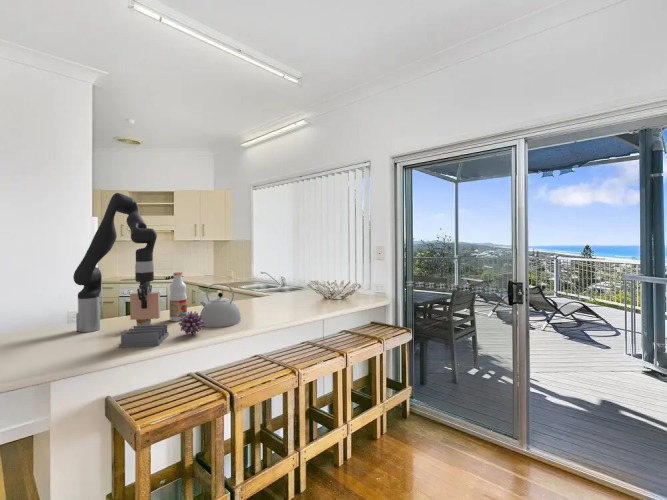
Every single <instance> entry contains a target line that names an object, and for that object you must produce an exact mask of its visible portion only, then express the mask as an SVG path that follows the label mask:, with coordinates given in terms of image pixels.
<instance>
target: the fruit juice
mask: <svg viewBox="0 0 667 500" xmlns="http://www.w3.org/2000/svg"><path fill="white" fill-rule="evenodd" d="M172 275H173V279H172V282H171V284H170V285H169V292H170V294H169V302H168V303H169V320H170V321H172V322H182V321H181V320H180V319H182V318H181V316H185V315H184V314H185V313H186V314H188V304H187V303H188V298H187V296H188V295H187V292H186V291H187V284H186V283H185V282H184V280H183V272H180V271H179V272H173V274H172Z"/></svg>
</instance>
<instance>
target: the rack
mask: <svg viewBox="0 0 667 500" xmlns="http://www.w3.org/2000/svg"><path fill="white" fill-rule="evenodd" d="M124 333H125V334H123V333H122V334H120V343H119V344H118V345H119V346H118V348H119V349H121V348H136V347H137V348H138V347H139V348H140V347H156V346H160V345H161V344H162V343H163V342H164V341H165V340H166V338H168V337H169V336H170V335H169V334H170V333H169V331H168V324H151V325H145V326H137V325H133V328H129V331H125V332H124Z"/></svg>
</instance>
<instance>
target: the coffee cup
mask: <svg viewBox="0 0 667 500" xmlns="http://www.w3.org/2000/svg"><path fill="white" fill-rule="evenodd" d="M151 321H152V319H137V320H136V321H135V322H136V326H145V325H152V324H151V323H152V322H151Z"/></svg>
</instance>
